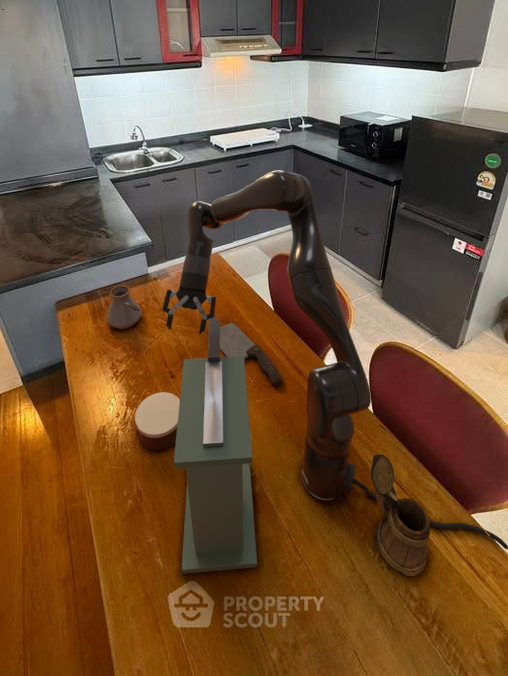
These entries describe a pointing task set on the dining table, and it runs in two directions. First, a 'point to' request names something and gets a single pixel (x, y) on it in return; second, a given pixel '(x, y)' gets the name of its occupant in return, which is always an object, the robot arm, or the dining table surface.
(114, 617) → the dining table surface
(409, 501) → the wooden mug
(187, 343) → the dining table surface
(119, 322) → the coffee pot
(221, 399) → the knife
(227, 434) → the display stand
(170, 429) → the cake
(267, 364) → the cleaver
